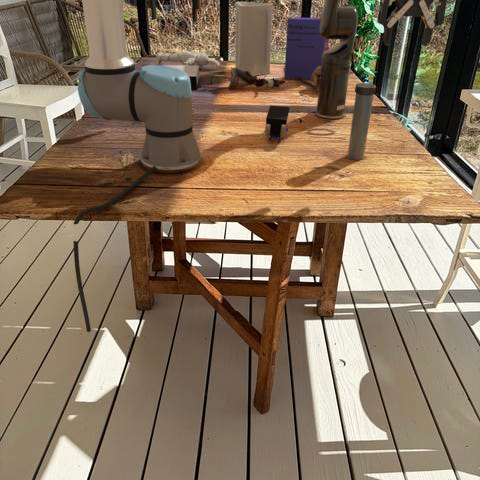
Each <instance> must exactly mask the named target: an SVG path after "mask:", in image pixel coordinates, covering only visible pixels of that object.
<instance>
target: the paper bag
mask: <svg viewBox="0 0 480 480" xmlns="http://www.w3.org/2000/svg"><path fill="white" fill-rule="evenodd" d="M273 8H274V4H273V3H269V2H267V3H266V2H265V3H264V2H252V1H235V59H234V60H235V62H234V63H235V65H234V66H235V67H234V68H237V69H240V70H242V71H244V72H245V71H249V72H250V73H251V75H252V76H256V77H257V76H259V75H260V76H261V75H266V74H270V73H271V56H272V55H271V54H272V33H273V32H272V31H273V10H274V9H273Z"/></svg>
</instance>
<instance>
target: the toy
mask: <svg viewBox="0 0 480 480" xmlns="http://www.w3.org/2000/svg"><path fill="white" fill-rule="evenodd" d="M155 55H156V56H155V65H156V66H158V65H164V62H166V63H167V62H172V63H178V62H179V63H182V65H193V66H194V65H195V66H199V69H203V67H204V66H207V65H209V64H214V65H215V67H216V66H217V67H218V68H219V67H220V66H221V63H220V62H219V60H216V59H215V58H209V56H208V55H207V54H204V53H203V52H202V51H199V52H198V53H195V52H192V51H189V50H186V51H179V52H174V53H171V52H162V51H159V52H157V53H156V54H155Z"/></svg>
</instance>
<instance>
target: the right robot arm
mask: <svg viewBox="0 0 480 480" xmlns="http://www.w3.org/2000/svg"><path fill="white" fill-rule="evenodd" d="M340 1H341V0H324V2H323V6H322V10H321V14H320V17H319V18H320V26H319V31H320V35H321V37H322V38H323V39H329V40H339V42H338V43H337V44H336V45H335V46H333V47H331V48H328V50H326V51H324V52H323V54H322V59H321V70H320V81H319V91H318V92H317V100H316V101H317V102H316V110H315V116H317V117H319V118H322V119H327V120H339V119H343V118H344V117H345V108H346V103H347V102H346V101H347V92H348V85H349V77H350V70H351V69H350V68H351V62H352V61H351V60H352V56H353V53H354V45H355V39H356V34H357V29H358V21H359V16H358V10H357V8H356V7H354V6H339V3H340ZM393 2H394V3H395V6H396V7H395V9H394V10H393V11H392V12H391V14H390V16H388V12H389V7H390V6H392V4H393ZM433 3H434V6H435V13H434V19H433V18H432V14H431V12H430V10H429V7H431V6H432V4H433ZM447 3H448V0H380V5H379V8H378V14H377V18H376V22H377V24H380V26H383V27H384V30H383V36H382V42H383V43H384V46H387V47H390V46H391V44H392V43H391V42H392V36H393V31H394V28H393V26H394V25H395V24H396V23H397V22H398V21H399V20H400V19H401V18H402V17H405V18H406V17H407V18H410V17H415V18H421V19H422V21H423V24H424V26H425V27H423V32H422V38H421V43H420V45H421V46H422V47H427V46H428V44H430V43H431V41H432V36H433V32H434V29H435V28H437V27H438V26H443V24H444V22H445V21H444V20H445V14H446V9H447ZM387 16H388V18H387ZM295 80H297V81H300V82H301V83H303V84H305V85H307V86H309V87H311V88H313V89H314V90H316V88H315V87H313V83H310V82H308V80H307V81H306V79H301V78H299V77H296V79H295Z"/></svg>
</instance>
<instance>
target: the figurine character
mask: <svg viewBox="0 0 480 480" xmlns="http://www.w3.org/2000/svg"><path fill="white" fill-rule="evenodd" d="M289 113H290V107H289V106H282V105H281V106H280V105H269V109H268V111H267V115H266V118H265V129H264V137H269V138H268V142H269V143H272V139H275V140H276V139H278V143H281V142H282V139H283V138H285V137H286V134H287V133H288V132H289V129H288V126H287V125H288V119H289Z"/></svg>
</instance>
